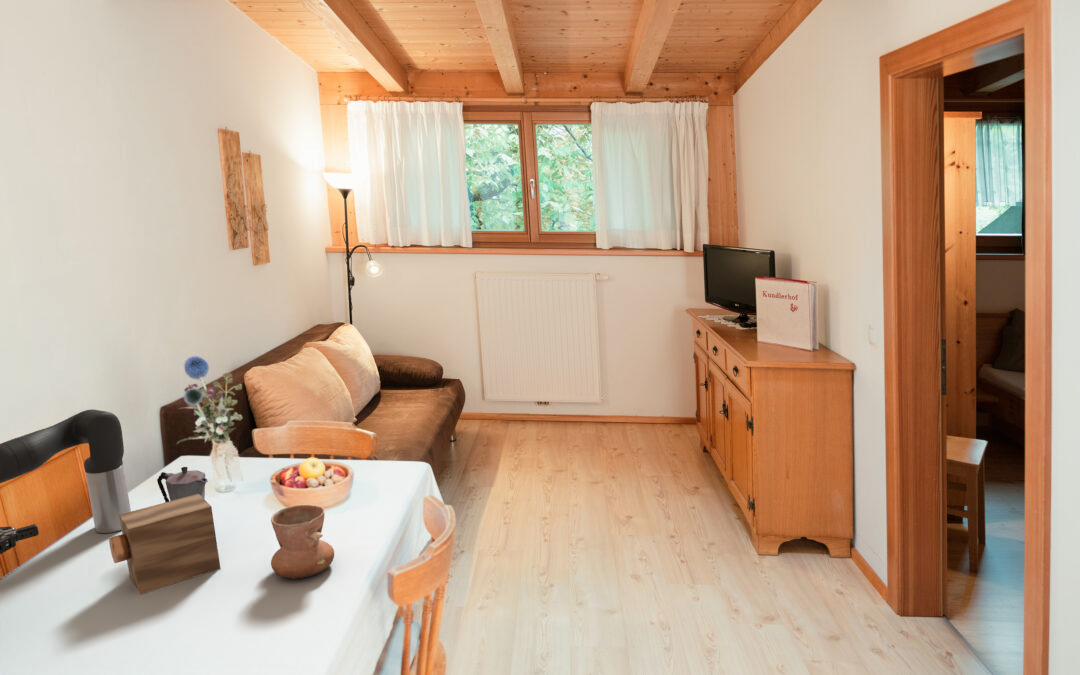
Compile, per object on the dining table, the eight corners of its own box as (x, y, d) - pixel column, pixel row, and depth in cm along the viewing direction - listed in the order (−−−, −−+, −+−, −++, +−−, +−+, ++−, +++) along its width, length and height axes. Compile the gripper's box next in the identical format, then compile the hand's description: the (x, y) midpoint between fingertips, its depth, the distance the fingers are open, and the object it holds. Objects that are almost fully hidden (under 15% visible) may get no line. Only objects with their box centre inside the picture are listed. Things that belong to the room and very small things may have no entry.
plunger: (111, 558, 188) (107, 534, 187) (206, 530, 201) (203, 507, 200) (116, 567, 184) (112, 542, 182) (213, 538, 196) (210, 515, 195)
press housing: (129, 577, 194) (119, 514, 190) (207, 553, 204) (198, 493, 201) (139, 594, 185) (128, 529, 182) (220, 568, 196) (211, 506, 192)
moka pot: (205, 547, 207) (194, 474, 203) (152, 545, 210) (140, 473, 206) (226, 531, 216) (216, 460, 213) (175, 529, 220) (164, 459, 216)
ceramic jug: (350, 568, 192) (344, 511, 189) (296, 592, 182) (288, 532, 179) (309, 549, 204) (303, 495, 202) (256, 570, 194) (248, 514, 191)
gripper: (-64, 550, 160) (38, 522, 170) (-65, 529, 170) (30, 504, 180) (-55, 585, 161) (45, 555, 171) (-58, 561, 171) (37, 535, 182)
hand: (37, 529), depth 176 cm, fingers closed
